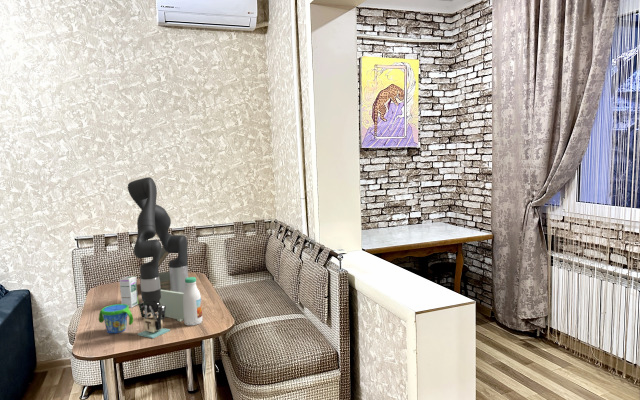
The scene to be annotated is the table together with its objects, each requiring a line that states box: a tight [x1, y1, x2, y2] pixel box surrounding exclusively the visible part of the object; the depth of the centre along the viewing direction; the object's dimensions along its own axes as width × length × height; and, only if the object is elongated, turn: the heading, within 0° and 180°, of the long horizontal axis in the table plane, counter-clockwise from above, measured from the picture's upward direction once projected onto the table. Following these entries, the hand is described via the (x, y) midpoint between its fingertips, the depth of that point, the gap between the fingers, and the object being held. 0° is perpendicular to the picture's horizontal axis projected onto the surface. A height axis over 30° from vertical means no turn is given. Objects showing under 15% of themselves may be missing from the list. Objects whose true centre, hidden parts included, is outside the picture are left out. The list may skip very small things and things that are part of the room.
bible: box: [139, 246, 171, 291], centre depth 258 cm, size 23×20×25 cm
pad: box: [137, 327, 171, 339], centre depth 187 cm, size 9×9×1 cm
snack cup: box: [98, 303, 134, 334], centre depth 191 cm, size 16×10×10 cm
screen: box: [159, 290, 184, 322], centre depth 205 cm, size 5×16×12 cm, turn 61°
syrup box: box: [118, 275, 139, 309], centre depth 225 cm, size 6×6×14 cm
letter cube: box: [143, 315, 164, 332], centre depth 187 cm, size 5×5×5 cm
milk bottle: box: [183, 276, 203, 327], centre depth 196 cm, size 8×8×20 cm
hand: (153, 328), depth 187 cm, fingers closed on letter cube, 4 cm apart
